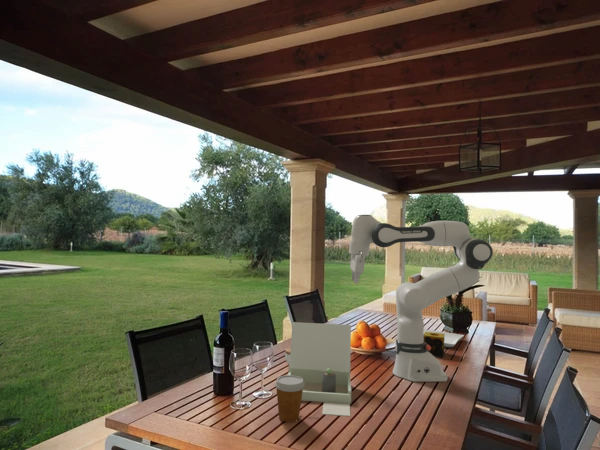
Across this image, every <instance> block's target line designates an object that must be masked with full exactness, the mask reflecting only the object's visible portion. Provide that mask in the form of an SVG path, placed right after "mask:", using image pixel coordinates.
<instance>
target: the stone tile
mask: <svg viewBox="0 0 600 450" xmlns="http://www.w3.org/2000/svg"><path fill="white" fill-rule="evenodd" d="M321 413H322V415H324V416H325V415H326V416H327V415H328V416H336V417H338V416H339V417H340V416H341V417H351V404H347V403H332V402H323V405H322V412H321Z"/></svg>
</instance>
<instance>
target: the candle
mask: <svg viewBox="0 0 600 450" xmlns="http://www.w3.org/2000/svg"><path fill="white" fill-rule="evenodd" d="M444 335H445V334H442V333H434V332H425V333H424V336H423V338H424V342H425V343H427V344H428V345H430V347H431V348H430V350H428V352H429V353H431V354H432V355H433V356H434V357H438V358H444V355H445V347H444Z"/></svg>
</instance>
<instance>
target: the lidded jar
mask: <svg viewBox="0 0 600 450" xmlns="http://www.w3.org/2000/svg"><path fill="white" fill-rule="evenodd" d="M290 351H291V346H289V347H287V348H285V350H284V352H285V353H284V354H285V356H284V357H285V361H286V364H287V365H288V366H290Z"/></svg>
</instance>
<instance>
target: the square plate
mask: <svg viewBox="0 0 600 450" xmlns="http://www.w3.org/2000/svg"><path fill="white" fill-rule="evenodd" d="M425 332H434V333H442V334H445V335H444V348H453V347H455V346H456V344H457V343H458V342H460V341H461V340H462V338H463V337H464V336H465V334H459V333H455V332H454V333H452V332H447V331H441V330H440V331H439V330H431V329H424V333H425ZM423 342H424V338H423Z"/></svg>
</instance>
